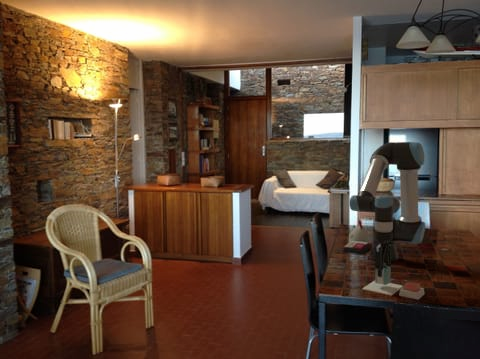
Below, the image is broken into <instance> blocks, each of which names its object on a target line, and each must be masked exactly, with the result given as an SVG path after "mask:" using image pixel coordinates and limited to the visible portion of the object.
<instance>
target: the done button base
mask: <svg viewBox="0 0 480 359" xmlns="http://www.w3.org/2000/svg"><path fill="white" fill-rule="evenodd" d="M424 295H425V288H424V287H420V288H419V289H418V290H417V291H412V290H407V289H404V286H403V287H402V288H401V289H399V292H398V296H400V297H404V298H408V299H413V300H414V299H415V300H418V301H419V300H420V299H422V297H423V296H424Z"/></svg>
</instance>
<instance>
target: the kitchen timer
mask: <svg viewBox="0 0 480 359" xmlns="http://www.w3.org/2000/svg"><path fill="white" fill-rule="evenodd" d="M351 241H360V242H368V243H369V247H372V245H373V240H372V235H371V233H370V232H369V230H368V229H367V228H366V227H365V226H363V223H362V220H360V219H359V220H358V225H356V226H355V228H353V229H352V231H351V232H350V233H349V236H348V243H349V242H351Z"/></svg>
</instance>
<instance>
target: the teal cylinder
mask: <svg viewBox="0 0 480 359" xmlns="http://www.w3.org/2000/svg"><path fill="white" fill-rule="evenodd" d="M374 269H375V268H374ZM383 269H384V284H383V285H387V284H389V283H391V282H392V281H391V275H392V273H391V271H392V270H391V269H392V268H391V266H387V264H386V263H384V264H383ZM374 273H375V278H374V281H375V283H377V269H375V272H374ZM378 284H379V283H378Z"/></svg>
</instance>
